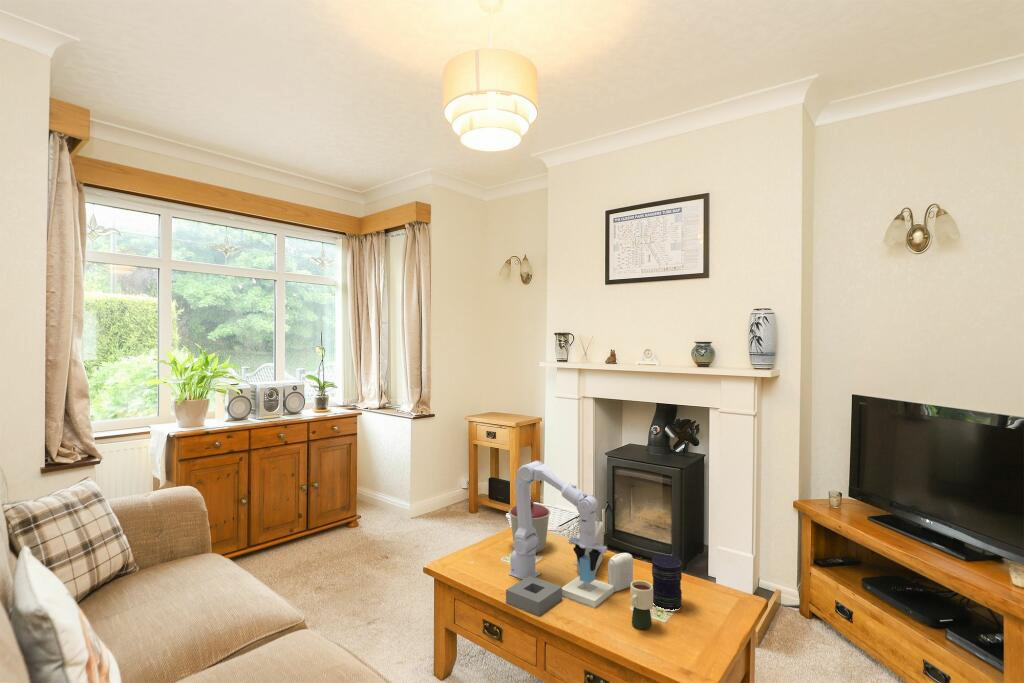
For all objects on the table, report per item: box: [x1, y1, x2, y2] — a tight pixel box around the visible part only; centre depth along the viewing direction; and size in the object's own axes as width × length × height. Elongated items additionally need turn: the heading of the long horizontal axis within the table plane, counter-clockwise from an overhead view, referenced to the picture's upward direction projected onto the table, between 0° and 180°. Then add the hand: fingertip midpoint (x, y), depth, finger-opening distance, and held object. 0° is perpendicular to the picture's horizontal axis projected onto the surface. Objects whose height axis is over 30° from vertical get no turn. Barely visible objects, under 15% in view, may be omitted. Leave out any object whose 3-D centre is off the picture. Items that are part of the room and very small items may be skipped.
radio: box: [574, 514, 605, 575], centre depth 209 cm, size 22×8×25 cm, turn 159°
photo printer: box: [607, 552, 634, 593], centre depth 191 cm, size 10×4×12 cm, turn 123°
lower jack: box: [561, 575, 615, 609], centre depth 186 cm, size 14×14×2 cm
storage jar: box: [651, 554, 683, 610], centre depth 179 cm, size 10×10×15 cm
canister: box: [508, 500, 551, 554], centre depth 226 cm, size 18×18×21 cm
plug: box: [579, 554, 596, 584], centre depth 186 cm, size 4×5×8 cm
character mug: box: [629, 579, 654, 630], centre depth 166 cm, size 11×7×13 cm, turn 135°
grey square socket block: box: [505, 576, 563, 617], centre depth 181 cm, size 14×14×4 cm
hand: (587, 568), depth 186 cm, fingers closed on plug, 4 cm apart
